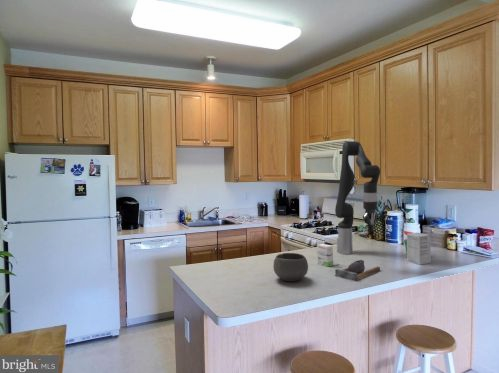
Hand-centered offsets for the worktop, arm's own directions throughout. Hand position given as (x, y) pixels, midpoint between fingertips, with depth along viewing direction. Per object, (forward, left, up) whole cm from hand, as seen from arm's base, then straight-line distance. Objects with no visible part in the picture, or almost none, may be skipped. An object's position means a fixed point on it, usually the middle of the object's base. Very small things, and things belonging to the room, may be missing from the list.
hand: (370, 230), depth 193 cm
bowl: (-19, -47, -22) cm, 55 cm away
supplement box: (+14, +30, -22) cm, 40 cm away
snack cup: (+6, +41, -22) cm, 47 cm away
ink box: (-23, -12, -22) cm, 34 cm away
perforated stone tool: (0, -17, -22) cm, 27 cm away
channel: (0, -13, -22) cm, 25 cm away
